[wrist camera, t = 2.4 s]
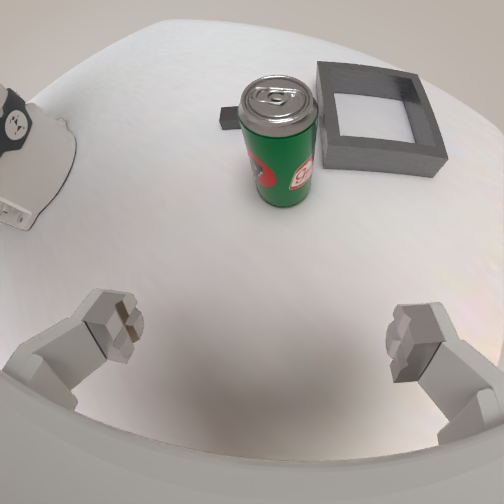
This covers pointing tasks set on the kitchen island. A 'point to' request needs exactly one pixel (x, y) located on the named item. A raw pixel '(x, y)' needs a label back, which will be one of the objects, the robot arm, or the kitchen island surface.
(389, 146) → the square frame with handle
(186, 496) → the robot arm
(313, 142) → the soda can
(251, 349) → the kitchen island surface
